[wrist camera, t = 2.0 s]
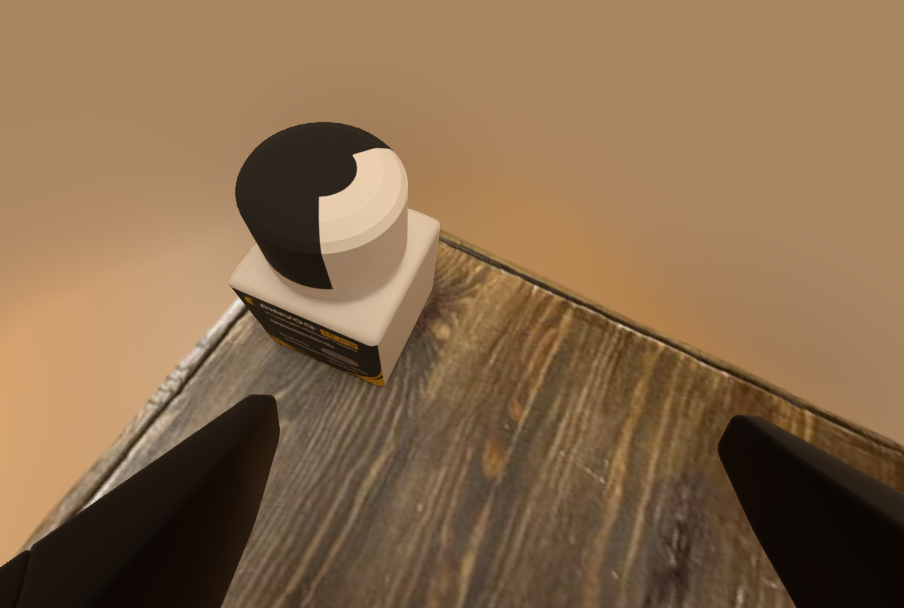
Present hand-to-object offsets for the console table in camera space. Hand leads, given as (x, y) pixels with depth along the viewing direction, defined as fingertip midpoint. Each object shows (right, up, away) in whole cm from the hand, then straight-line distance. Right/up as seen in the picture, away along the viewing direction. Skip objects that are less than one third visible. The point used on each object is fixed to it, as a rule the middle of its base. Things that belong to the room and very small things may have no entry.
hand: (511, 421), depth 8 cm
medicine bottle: (-7, +2, +17) cm, 19 cm away
